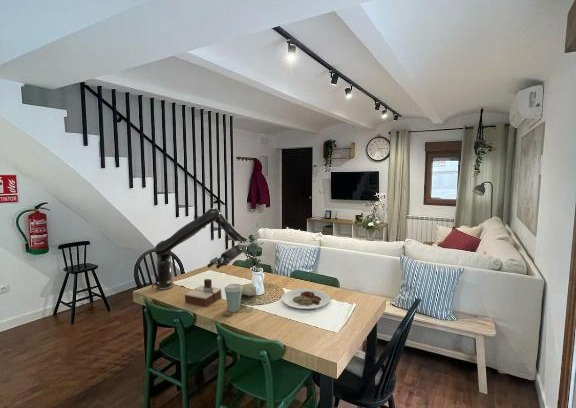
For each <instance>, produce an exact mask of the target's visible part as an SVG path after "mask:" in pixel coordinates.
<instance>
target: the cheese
mask: <svg viewBox="0 0 576 408" xmlns="http://www.w3.org/2000/svg"><path fill="white" fill-rule="evenodd" d="M253 283H254V282H250V283H247V284H246V285H244V287H243V289H242V294H241V296H246V297H249V298H250V297H254V296H255V295H256V294H257V293H256V287H255V286H254V284H253ZM255 293H256V294H255ZM253 294H254V295H253Z"/></svg>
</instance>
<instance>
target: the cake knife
mask: <svg viewBox="0 0 576 408" xmlns="http://www.w3.org/2000/svg"><path fill="white" fill-rule="evenodd" d="M203 286H204V287H203V290H204V292H208V293H213V288H211V287H213V285H212V279H210V278H205V279H203Z"/></svg>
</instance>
